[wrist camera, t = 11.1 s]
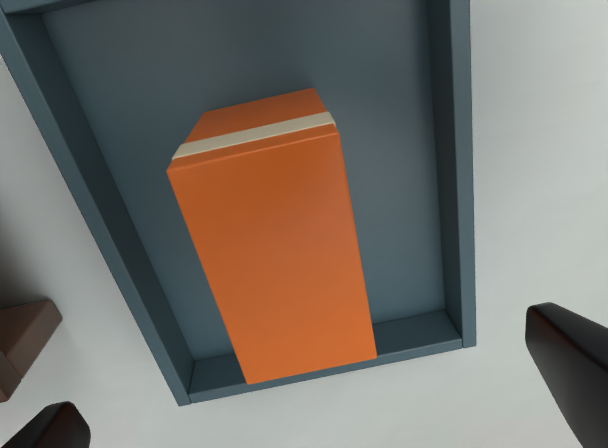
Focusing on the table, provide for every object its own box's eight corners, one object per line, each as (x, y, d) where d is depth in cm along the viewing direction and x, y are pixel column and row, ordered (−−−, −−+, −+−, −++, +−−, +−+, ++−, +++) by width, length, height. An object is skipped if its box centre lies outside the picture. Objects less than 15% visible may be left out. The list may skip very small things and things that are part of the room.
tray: (188, 364, 21) (178, 407, 18) (20, -3, 13) (-30, -5, 11) (454, 309, 20) (476, 346, 18) (434, -102, 13) (467, -124, 11)
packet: (253, 275, 18) (246, 387, 13) (201, 111, 15) (162, 169, 9) (346, 254, 18) (378, 359, 13) (314, 85, 15) (340, 130, 9)
